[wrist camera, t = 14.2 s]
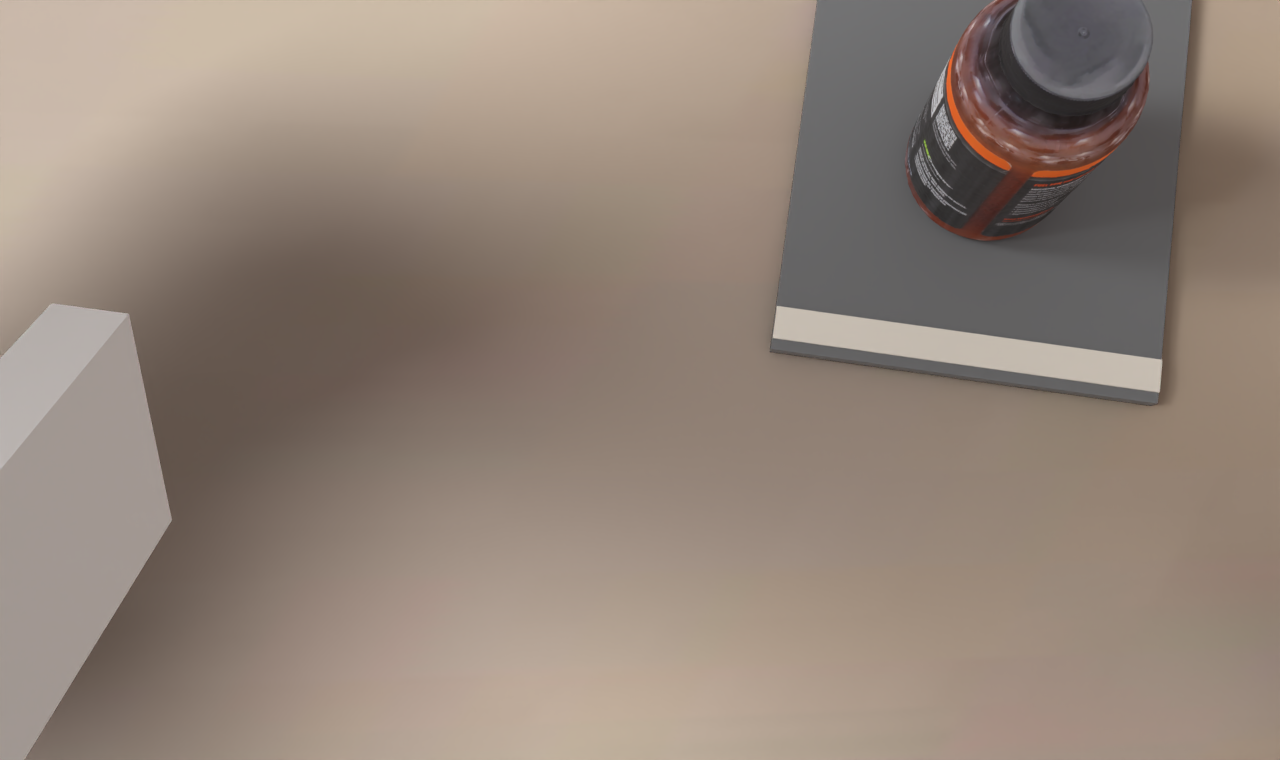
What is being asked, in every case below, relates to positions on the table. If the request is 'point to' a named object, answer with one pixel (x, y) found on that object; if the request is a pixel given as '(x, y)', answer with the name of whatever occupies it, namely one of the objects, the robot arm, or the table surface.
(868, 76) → the grey flat slab
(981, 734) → the table surface
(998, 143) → the supplement bottle
